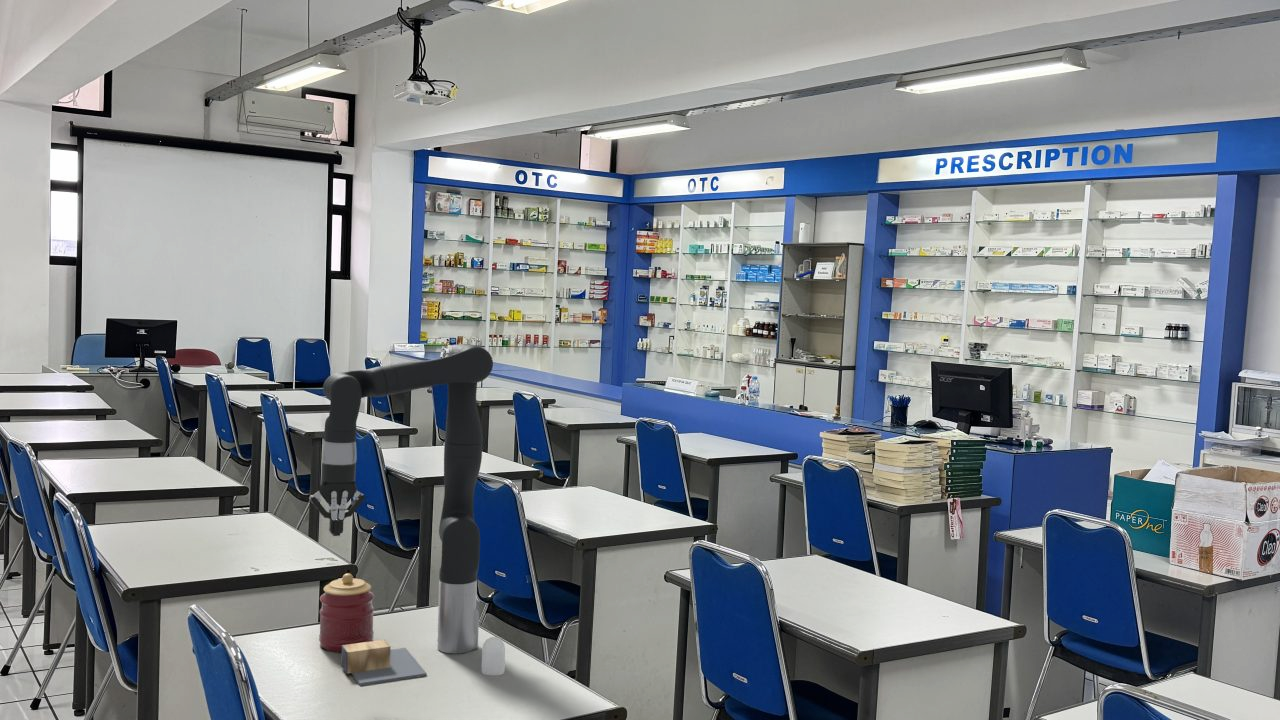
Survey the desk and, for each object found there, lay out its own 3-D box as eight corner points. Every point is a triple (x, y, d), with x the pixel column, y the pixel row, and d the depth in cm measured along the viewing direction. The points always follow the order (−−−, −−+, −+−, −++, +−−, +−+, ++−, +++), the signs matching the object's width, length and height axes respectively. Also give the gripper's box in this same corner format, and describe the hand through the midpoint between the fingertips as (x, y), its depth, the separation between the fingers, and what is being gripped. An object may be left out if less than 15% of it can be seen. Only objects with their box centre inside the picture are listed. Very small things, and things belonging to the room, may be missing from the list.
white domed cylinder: (508, 673, 236) (509, 639, 236) (486, 676, 234) (487, 642, 233) (499, 665, 241) (500, 632, 240) (478, 669, 238) (478, 635, 238)
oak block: (341, 666, 235) (384, 660, 240) (346, 673, 231) (390, 667, 235) (341, 645, 235) (384, 639, 239) (346, 652, 230) (390, 646, 235)
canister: (376, 634, 259) (377, 566, 258) (369, 652, 246) (371, 581, 245) (323, 634, 257) (325, 566, 256) (314, 653, 244) (315, 581, 243)
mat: (405, 650, 249) (405, 647, 249) (426, 675, 233) (426, 673, 233) (342, 658, 241) (342, 656, 241) (359, 685, 226) (359, 683, 226)
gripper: (364, 457, 239) (360, 530, 240) (306, 458, 233) (302, 533, 234) (372, 462, 233) (368, 537, 233) (312, 464, 226) (309, 540, 227)
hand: (335, 535), depth 234 cm, fingers closed
